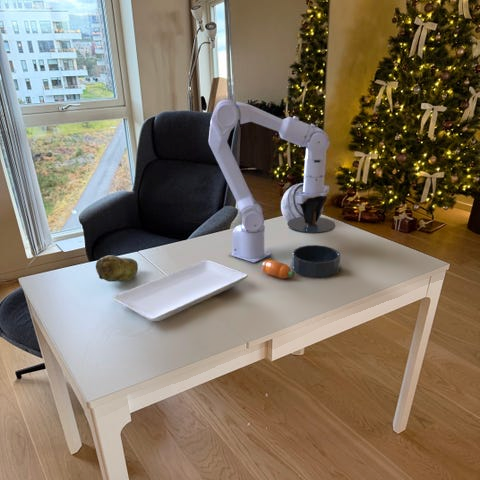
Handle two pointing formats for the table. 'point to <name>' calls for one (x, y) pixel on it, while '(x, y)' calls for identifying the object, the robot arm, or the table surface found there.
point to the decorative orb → (293, 203)
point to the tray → (180, 290)
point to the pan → (316, 261)
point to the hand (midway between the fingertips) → (311, 222)
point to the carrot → (277, 269)
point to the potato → (116, 268)
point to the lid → (311, 225)
